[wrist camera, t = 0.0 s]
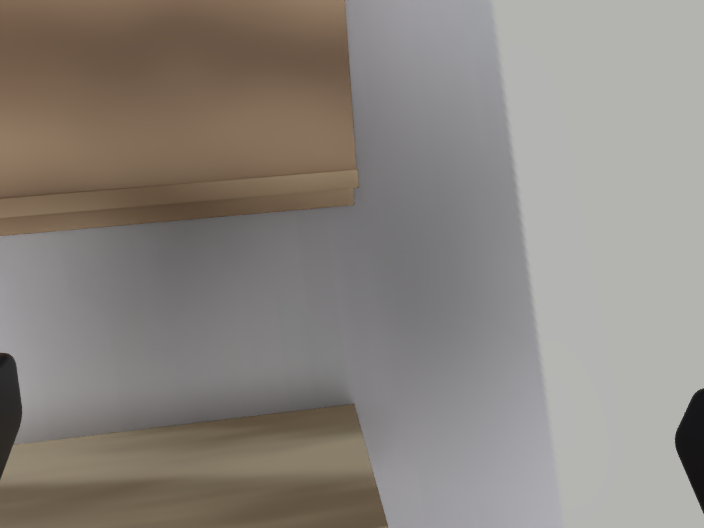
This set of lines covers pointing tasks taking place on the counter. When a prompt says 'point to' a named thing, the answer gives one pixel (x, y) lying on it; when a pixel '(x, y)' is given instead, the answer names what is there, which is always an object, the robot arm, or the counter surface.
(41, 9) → the wooden molding strip
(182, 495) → the oak plank
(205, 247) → the counter surface
